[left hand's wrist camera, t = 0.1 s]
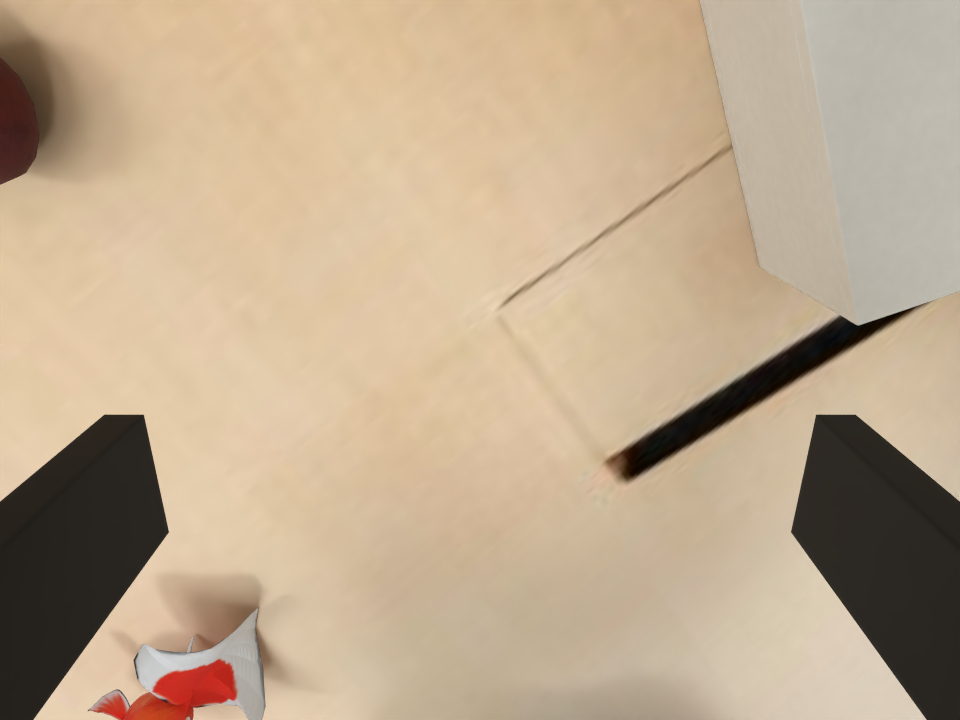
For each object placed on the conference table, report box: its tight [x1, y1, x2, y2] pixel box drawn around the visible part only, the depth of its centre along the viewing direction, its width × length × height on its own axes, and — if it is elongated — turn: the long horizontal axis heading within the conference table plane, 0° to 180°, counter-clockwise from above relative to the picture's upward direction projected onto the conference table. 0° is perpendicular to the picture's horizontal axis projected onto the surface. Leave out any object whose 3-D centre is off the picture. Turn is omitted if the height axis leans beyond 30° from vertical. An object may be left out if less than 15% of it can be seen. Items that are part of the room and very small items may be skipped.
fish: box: [88, 607, 265, 720], centre depth 47 cm, size 11×16×10 cm
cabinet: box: [700, 0, 960, 325], centre depth 31 cm, size 17×11×11 cm, turn 21°
